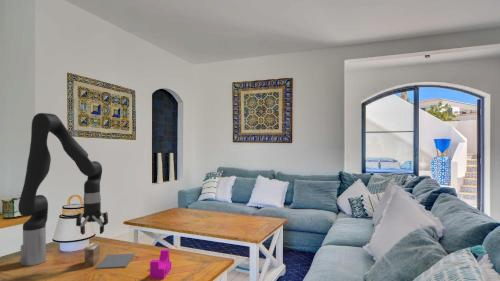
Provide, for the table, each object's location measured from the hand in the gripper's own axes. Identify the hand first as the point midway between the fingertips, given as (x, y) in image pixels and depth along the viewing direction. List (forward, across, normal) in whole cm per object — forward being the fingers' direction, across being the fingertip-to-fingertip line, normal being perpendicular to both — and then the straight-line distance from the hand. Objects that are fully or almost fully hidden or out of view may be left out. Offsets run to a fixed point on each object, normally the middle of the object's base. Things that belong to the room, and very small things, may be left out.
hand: (92, 233), depth 147 cm
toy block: (+15, +36, -13) cm, 42 cm away
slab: (+15, 0, 0) cm, 15 cm away
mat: (+15, +11, +1) cm, 19 cm away
